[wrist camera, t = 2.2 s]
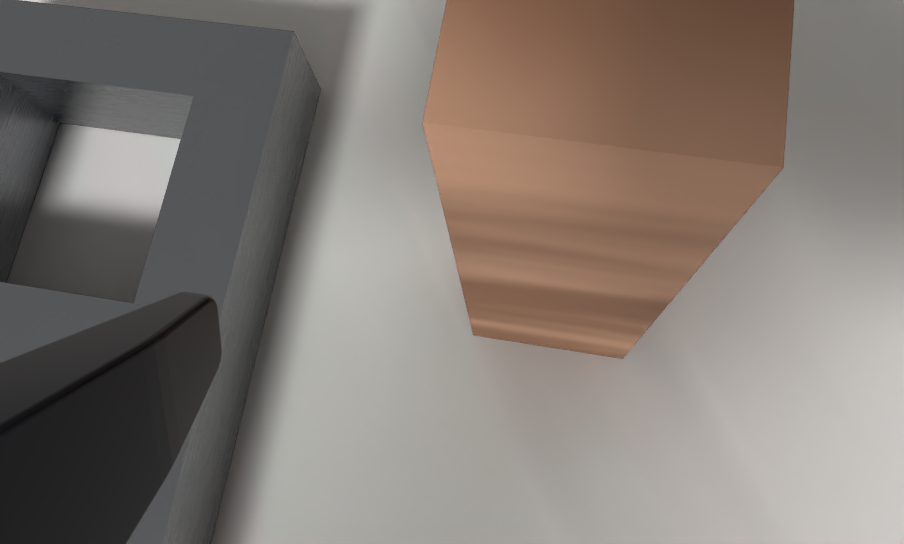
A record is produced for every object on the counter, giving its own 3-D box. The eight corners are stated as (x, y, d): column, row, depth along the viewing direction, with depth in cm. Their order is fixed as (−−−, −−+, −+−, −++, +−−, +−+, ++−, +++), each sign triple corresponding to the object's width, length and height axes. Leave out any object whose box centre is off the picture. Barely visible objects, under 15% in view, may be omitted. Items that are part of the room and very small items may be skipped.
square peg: (622, 358, 20) (783, 167, 8) (473, 334, 21) (422, 122, 9) (639, 217, 21) (803, -133, 9) (496, 197, 22) (478, -160, 10)
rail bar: (181, 663, 19) (123, 693, 16) (-177, 585, 20) (-291, 601, 17) (320, 88, 23) (293, 31, 20) (16, 51, 24) (-51, -8, 21)
